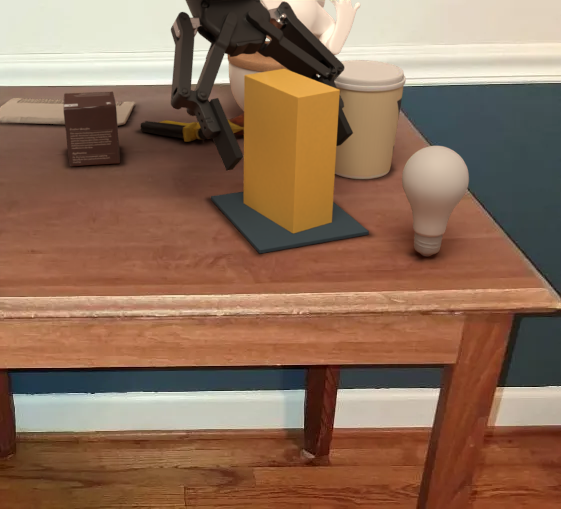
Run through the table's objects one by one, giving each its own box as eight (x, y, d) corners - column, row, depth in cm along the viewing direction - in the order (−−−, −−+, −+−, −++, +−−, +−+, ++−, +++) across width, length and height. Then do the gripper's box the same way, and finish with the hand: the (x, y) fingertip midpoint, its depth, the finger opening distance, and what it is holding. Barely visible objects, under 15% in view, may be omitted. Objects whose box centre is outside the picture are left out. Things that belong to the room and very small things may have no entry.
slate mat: (259, 253, 81) (259, 250, 81) (210, 199, 92) (210, 196, 92) (368, 234, 86) (369, 231, 85) (309, 185, 97) (309, 181, 97)
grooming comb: (10, 96, 122) (11, 101, 122) (-14, 118, 113) (-13, 123, 113) (137, 99, 121) (137, 105, 122) (122, 122, 112) (122, 127, 113)
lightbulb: (465, 250, 83) (480, 144, 78) (446, 275, 78) (461, 164, 73) (406, 236, 85) (418, 132, 80) (385, 260, 81) (395, 151, 76)
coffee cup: (412, 175, 100) (422, 75, 95) (344, 186, 97) (351, 83, 91) (370, 150, 108) (378, 56, 102) (306, 160, 104) (310, 63, 99)
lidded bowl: (269, 97, 126) (270, 23, 121) (335, 116, 119) (340, 38, 114) (208, 115, 118) (207, 36, 113) (276, 137, 111) (278, 53, 106)
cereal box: (293, 233, 84) (298, 97, 78) (243, 203, 91) (244, 75, 84) (331, 222, 87) (340, 89, 81) (280, 193, 93) (284, 68, 87)
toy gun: (277, 133, 112) (235, 156, 105) (186, 120, 120) (141, 140, 112) (276, 107, 111) (233, 129, 103) (184, 96, 118) (138, 115, 110)
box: (118, 147, 106) (114, 90, 103) (120, 165, 101) (116, 105, 98) (68, 150, 105) (63, 92, 102) (68, 167, 100) (62, 107, 96)
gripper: (292, -13, 99) (366, 146, 95) (94, 6, 86) (170, 192, 82) (322, -55, 92) (403, 113, 88) (113, -42, 79) (197, 157, 75)
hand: (291, 151), depth 85 cm, fingers open, 13 cm apart
